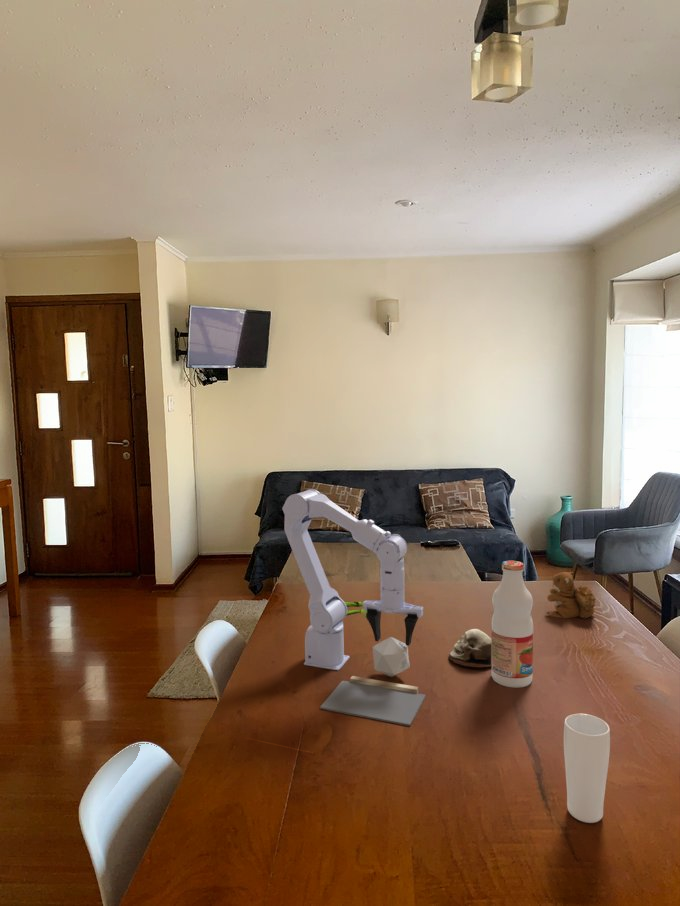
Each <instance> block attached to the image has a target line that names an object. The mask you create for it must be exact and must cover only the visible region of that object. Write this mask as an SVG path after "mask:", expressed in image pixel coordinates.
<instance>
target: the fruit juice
mask: <svg viewBox="0 0 680 906" xmlns="http://www.w3.org/2000/svg"><path fill="white" fill-rule="evenodd" d="M501 570H502V571H503V572H502V579H501V581H500V584H499V586H497V587H496V589H495V590H494V592H493V593H492V599H491V600H492V601H491V602H492V606H493V609H494V610H493V611H494V612H493V613H492V614H493V615H492V616H491V634H490V635H491V637H490V638H491V666H490V667H491V668H490V669H491V670H490V671H491V673H490V674H491V678H492V680H493V682H495V683H497V684H499V685H500V686H504V687H508V688H517V689H518V688H524V687H528V686H529V685H530V684H532V681H533V677H534V675H533V673H534V669H533V668H534V666H533V665H534V664H533V663H534V620H533V617H532V614H531V612H532V609H533V606H534V600H533V599H534V598H533V596H532V594H531V592H530V591H529V590H528V589H527V587H526V585H525V581H524V578H523V572H524V570H525V564H524V563H523V562H521V561H517V560H506V561H505V560H504V561H502V563H501Z"/></svg>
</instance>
